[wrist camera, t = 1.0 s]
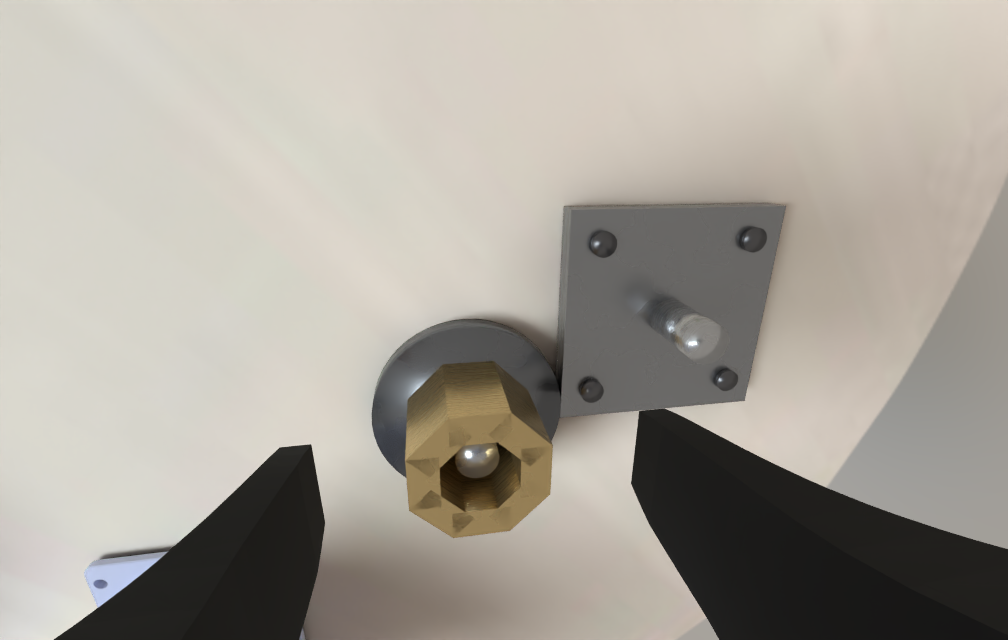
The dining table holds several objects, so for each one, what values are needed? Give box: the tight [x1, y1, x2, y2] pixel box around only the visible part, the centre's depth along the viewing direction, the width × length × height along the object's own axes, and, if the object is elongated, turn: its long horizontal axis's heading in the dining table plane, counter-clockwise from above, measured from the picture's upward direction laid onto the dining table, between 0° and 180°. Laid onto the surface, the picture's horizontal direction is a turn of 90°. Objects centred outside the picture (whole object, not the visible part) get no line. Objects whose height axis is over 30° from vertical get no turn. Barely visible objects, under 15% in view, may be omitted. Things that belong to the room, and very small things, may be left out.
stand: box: [372, 319, 561, 478], centre depth 19 cm, size 8×8×4 cm
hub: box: [555, 203, 786, 418], centre depth 19 cm, size 9×9×4 cm
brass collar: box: [405, 361, 553, 538], centre depth 18 cm, size 5×5×4 cm
